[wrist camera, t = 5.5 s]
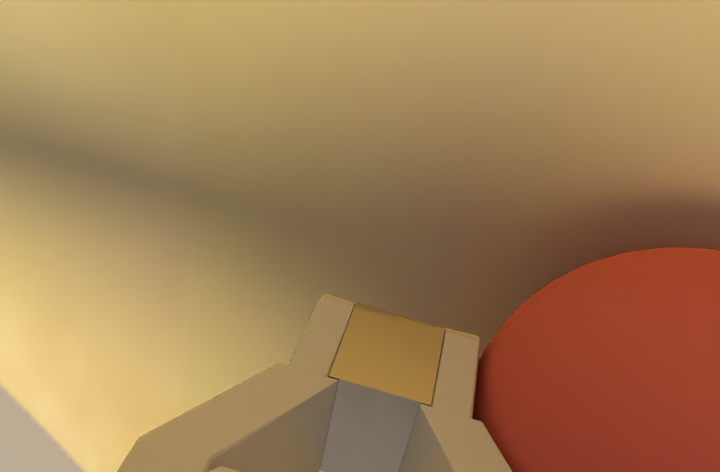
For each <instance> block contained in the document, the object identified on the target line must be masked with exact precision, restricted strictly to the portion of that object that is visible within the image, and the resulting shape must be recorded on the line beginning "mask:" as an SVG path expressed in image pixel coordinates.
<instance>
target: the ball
mask: <svg viewBox="0 0 720 472" xmlns="http://www.w3.org/2000/svg"><path fill="white" fill-rule="evenodd" d="M472 419H475V420H478V421H481V422H483V424H484V425H485V427H486V429H487V430H488V432H489V434H490V435H491V437H492V439H493V440H494V442H495V444H496V445H497V447H498V449H499V450H500V452H501V454H502V455H503V457H504V459H505V460H506V462H507V464H508V465H509V467H510V468H511V470H512V472H720V251H719V250H714V249H707V248H683V247H664V248H654V249H644V250H637V251H630V252H625V253H622V254H618V255H614V256H611V257H607V258H604V259H600V260H596V261H593V262H591V263H588V264H586V265H583V266H581V267H579V268H577V269H575V270H573V271H571V272H569V273H567V274H565V275H563V276H561V277H560V278H558V279H556V280H554V281H553V282H551V283H549V284H548V285H546V286H545V287H543V288H542V289H540V290H539V291H538V292H536V293H535V294H534V295H532V296H531V297H530V298H529V299H527V300H526V301H525V302H524V303H523V304H522V305H521V306H520V307H519V308H518V309H517V310H515V312H514V313H513V314H512V315H511V316H510V317H509V318H508V319H507V320H506V321H505V323H504V324H503V325H502V326H501V328H500V329H499V330H498V332H497V333H496V334H495V336H494V337H493V338H492V340H491V341H490V343H489V344H488V346H487V347H486V349H485V350H484V352H483V354H482V355H481V357H480V359H479V361H478V369H477V378H476V388H475V397H474V406H473V415H472Z"/></svg>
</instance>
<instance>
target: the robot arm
mask: <svg viewBox="0 0 720 472" xmlns="http://www.w3.org/2000/svg"><path fill="white" fill-rule="evenodd" d="M479 351H480V338H479V336H477V335H473V334H469V333H465V332H461V331H457V330H453V329H449V328H445V329H444V328H442V327H438V326H435V325H431V324H427V323H424V322H420V321H417V320H413V319H410V318H407V317H403V316H400V315H397V314H393V313H390V312H387V311H383V310H380V309H377V308H373V307H370V306H367V305H363V304H360V303H354V302H352V301H348V300H345V299H342V298H338V297H335V296H331V295H328V294H325V293H323V295H322V296H321V297H320V298H319V299H318V301H317V304H316V306H315V308H314V310H313V313H312V315H311V317H310V319H309V321H308V324H307V326H306V328H305V330H304V332H303V335H302V337H301V339H300V341H299V344H298V346H297V348H296V350H295V352H294V355H293V357H292V359H291V361H290V364H289V366H288V365H284V364H280V363H278V364H276V365H274V366H272V367H271V368H269V369H267V370H265V371H263V372H261V373H259V374H257V375H255V376H254V377H252V378H250V379H248V380H246V381H244V382H242V383H240V384H239V385H237V386H235V387H233V388H231V389H229V390H227V391H225V392H223V393H222V394H220V395H218V396H216V397H214V398H212V399H210V400H208V401H207V402H205V403H203V404H201V405H199V406H197V407H195V408H193V409H191V410H190V411H188V412H186V413H184V414H182V415H180V416H178V417H176V418H175V419H173V420H171V421H169V422H167V423H165V424H163V425H161V426H159V427H158V428H156V429H154V430H152V431H150V432H148V433H146V434H144V435H143V436H141V437H139V438H138V440H137V441H136V443H135V444H134V446H133V448H132V449H131V451H130V452H129V454H128V455H127V457H126V458H125V460H124V462H123V463H122V465H121V466H120V468H119V469H118V471H117V472H319V470H322V471H326V472H512V470H511V468H510V467H509V465H508V464H507V462H506V460H505V459H504V457H503V455H502V454H501V452H500V450H499V449H498V447H497V445H496V444H495V442H494V440H493V439H492V437H491V435H490V434H489V432H488V430H487V429H486V427H485V425H484V424H483V422H481V421H478V420H475V419H472V415H473V406H474V397H475V388H476V378H477V369H478V360H479Z"/></svg>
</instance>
